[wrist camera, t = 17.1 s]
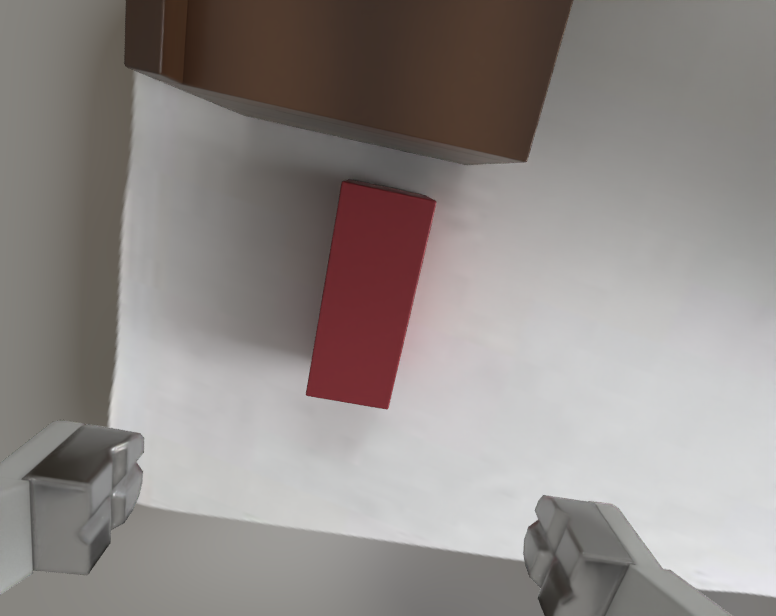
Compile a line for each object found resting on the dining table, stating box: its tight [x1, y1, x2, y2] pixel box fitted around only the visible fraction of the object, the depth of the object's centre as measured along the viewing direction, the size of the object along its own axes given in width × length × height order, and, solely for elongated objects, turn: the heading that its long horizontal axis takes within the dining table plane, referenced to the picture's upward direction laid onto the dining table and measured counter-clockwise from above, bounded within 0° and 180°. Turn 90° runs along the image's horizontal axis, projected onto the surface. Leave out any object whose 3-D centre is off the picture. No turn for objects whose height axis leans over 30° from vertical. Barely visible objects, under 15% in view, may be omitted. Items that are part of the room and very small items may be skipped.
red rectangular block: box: [306, 179, 437, 409], centre depth 23 cm, size 4×11×4 cm, turn 168°
